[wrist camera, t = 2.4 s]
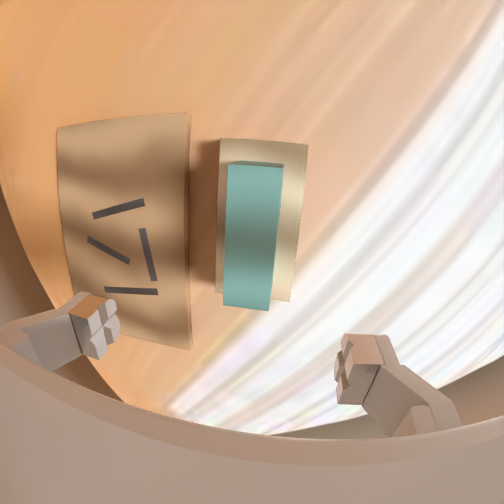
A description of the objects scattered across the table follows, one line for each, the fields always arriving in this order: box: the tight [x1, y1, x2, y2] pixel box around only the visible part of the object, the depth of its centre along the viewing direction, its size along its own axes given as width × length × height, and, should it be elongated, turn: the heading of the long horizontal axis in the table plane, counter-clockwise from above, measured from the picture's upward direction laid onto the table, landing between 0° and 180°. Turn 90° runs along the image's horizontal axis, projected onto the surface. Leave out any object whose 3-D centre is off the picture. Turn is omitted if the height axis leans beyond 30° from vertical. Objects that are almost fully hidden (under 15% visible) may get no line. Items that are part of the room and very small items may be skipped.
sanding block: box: [215, 138, 308, 311], centre depth 20 cm, size 12×6×6 cm, turn 176°
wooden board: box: [57, 113, 193, 350], centre depth 24 cm, size 22×14×1 cm, turn 176°
